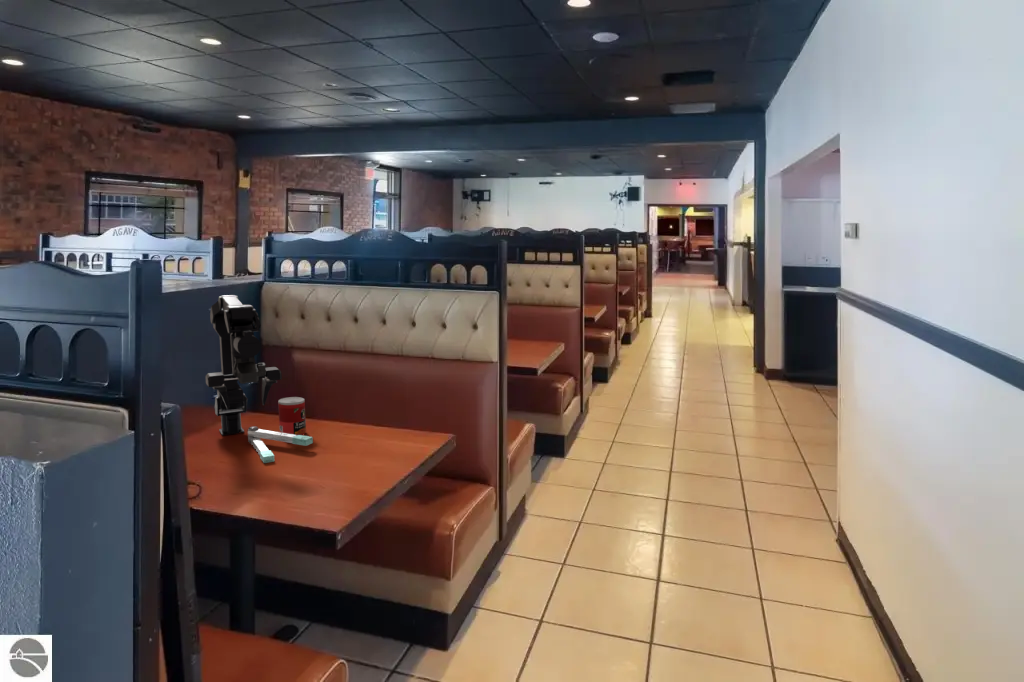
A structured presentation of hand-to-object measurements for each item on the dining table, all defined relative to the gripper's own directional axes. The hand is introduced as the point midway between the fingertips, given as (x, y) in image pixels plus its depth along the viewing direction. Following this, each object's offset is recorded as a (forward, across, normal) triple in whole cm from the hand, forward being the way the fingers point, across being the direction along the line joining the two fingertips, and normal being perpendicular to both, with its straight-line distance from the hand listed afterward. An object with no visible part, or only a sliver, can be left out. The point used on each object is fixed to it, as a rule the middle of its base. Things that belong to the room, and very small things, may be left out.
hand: (246, 407), depth 177 cm
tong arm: (+13, +10, +6) cm, 17 cm away
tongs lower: (+15, +4, +5) cm, 16 cm away
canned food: (+15, +16, +16) cm, 27 cm away
